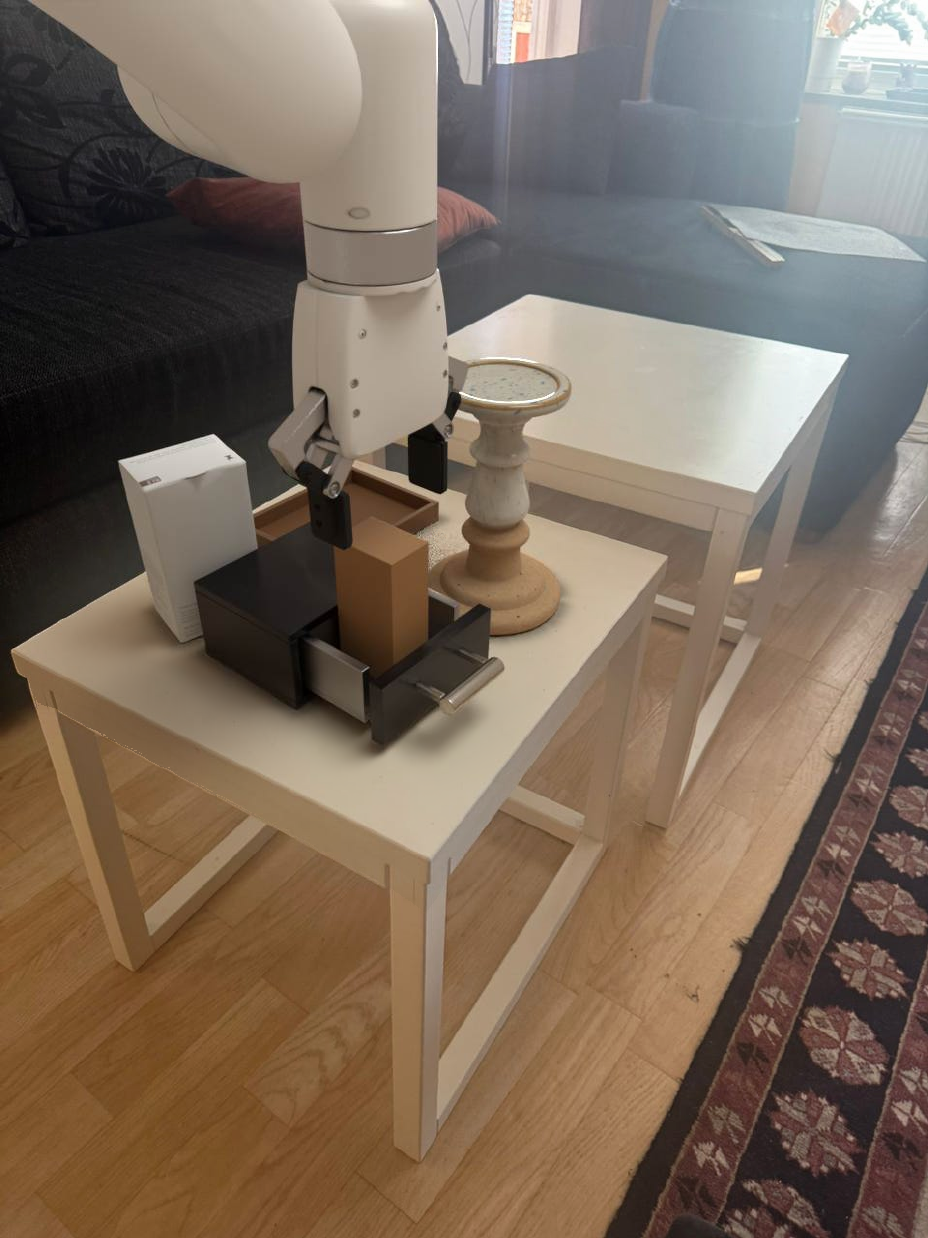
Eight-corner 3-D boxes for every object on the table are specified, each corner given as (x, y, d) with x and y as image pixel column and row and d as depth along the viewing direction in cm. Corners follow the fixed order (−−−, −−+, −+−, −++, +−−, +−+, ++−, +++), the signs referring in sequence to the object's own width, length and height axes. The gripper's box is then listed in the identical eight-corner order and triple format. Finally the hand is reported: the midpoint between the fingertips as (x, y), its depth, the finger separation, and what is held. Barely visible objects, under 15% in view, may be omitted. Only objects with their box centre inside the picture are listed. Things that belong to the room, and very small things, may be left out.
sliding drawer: (526, 681, 68) (531, 627, 64) (424, 771, 60) (424, 714, 56) (398, 617, 74) (398, 564, 71) (290, 690, 66) (284, 635, 63)
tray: (326, 586, 79) (324, 567, 78) (237, 541, 85) (234, 522, 84) (438, 519, 89) (439, 501, 88) (352, 483, 95) (352, 466, 94)
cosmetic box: (240, 582, 79) (217, 429, 70) (270, 614, 75) (250, 457, 66) (149, 613, 75) (114, 454, 66) (177, 648, 71) (143, 485, 62)
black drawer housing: (414, 628, 74) (413, 557, 70) (297, 710, 65) (288, 635, 61) (326, 583, 79) (320, 515, 75) (206, 654, 71) (192, 581, 66)
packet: (394, 689, 65) (391, 564, 58) (340, 659, 67) (332, 537, 61) (428, 663, 67) (429, 541, 61) (375, 635, 70) (371, 516, 63)
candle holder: (398, 610, 76) (394, 389, 64) (462, 547, 85) (469, 342, 73) (526, 653, 72) (547, 425, 60) (580, 581, 81) (607, 370, 69)
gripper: (419, 216, 57) (421, 455, 67) (207, 269, 46) (249, 545, 56) (512, 235, 53) (500, 484, 64) (307, 298, 42) (332, 587, 52)
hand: (382, 513), depth 60 cm, fingers open, 9 cm apart
